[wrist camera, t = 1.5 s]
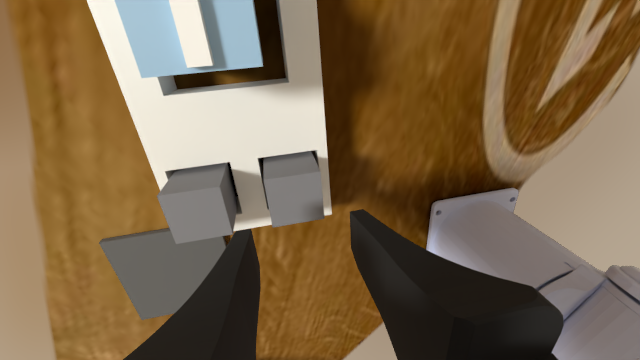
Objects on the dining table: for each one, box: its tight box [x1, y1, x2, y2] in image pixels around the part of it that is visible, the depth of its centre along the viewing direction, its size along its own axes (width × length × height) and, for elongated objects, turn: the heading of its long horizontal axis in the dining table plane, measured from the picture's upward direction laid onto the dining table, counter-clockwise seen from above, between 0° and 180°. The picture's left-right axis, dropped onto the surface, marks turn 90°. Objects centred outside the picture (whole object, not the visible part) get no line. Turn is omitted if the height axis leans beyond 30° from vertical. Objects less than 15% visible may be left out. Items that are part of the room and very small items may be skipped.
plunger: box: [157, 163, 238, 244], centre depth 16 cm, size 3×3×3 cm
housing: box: [87, 0, 332, 231], centre depth 16 cm, size 16×10×2 cm, turn 5°
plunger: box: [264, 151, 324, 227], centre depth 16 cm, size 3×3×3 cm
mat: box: [99, 228, 227, 320], centre depth 21 cm, size 8×8×1 cm
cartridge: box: [115, 0, 263, 78], centre depth 12 cm, size 4×4×8 cm
